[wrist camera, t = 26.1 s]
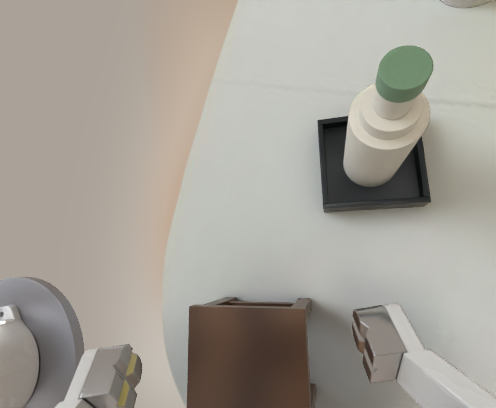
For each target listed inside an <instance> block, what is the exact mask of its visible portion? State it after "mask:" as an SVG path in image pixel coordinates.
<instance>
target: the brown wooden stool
mask: <svg viewBox="0 0 496 408" xmlns="http://www.w3.org/2000/svg"><path fill="white" fill-rule="evenodd" d="M310 312H311V299H310V298H299V299H298V300H297V301H296V302H295V303H289V302H237V299H236V297H225V298H222V299H219V300H216V301H213V302H210V303H207V304H204V305H192V306H190V307H189V343H188V385H187V408H315V402H316V387H315V384H310V375H309V356H308V336H307V319H308V317H309V314H310Z"/></svg>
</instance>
